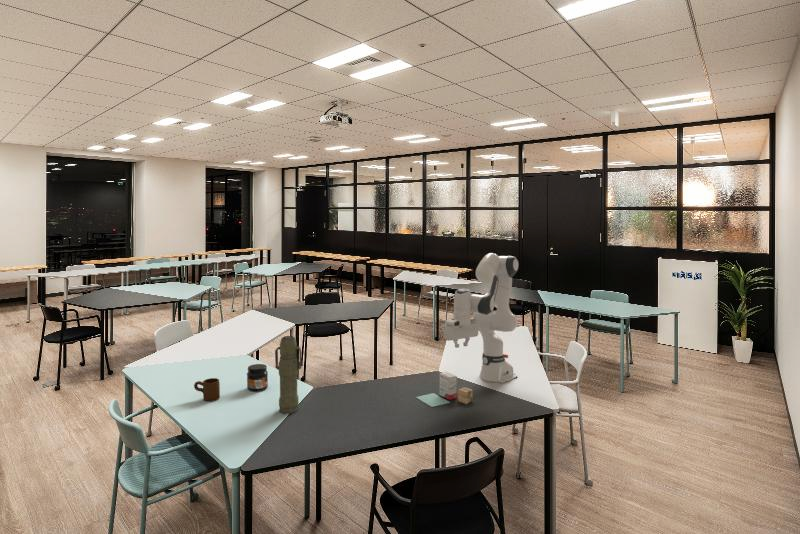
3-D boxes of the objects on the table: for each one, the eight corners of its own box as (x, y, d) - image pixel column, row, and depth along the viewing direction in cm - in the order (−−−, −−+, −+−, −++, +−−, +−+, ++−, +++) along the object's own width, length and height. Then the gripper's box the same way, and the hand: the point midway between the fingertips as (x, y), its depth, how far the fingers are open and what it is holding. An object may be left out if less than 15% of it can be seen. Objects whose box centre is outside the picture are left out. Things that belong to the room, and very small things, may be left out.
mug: (191, 402, 222) (191, 383, 221) (197, 396, 229) (196, 378, 228) (217, 401, 223) (216, 383, 222) (221, 395, 230) (221, 377, 230)
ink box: (457, 398, 231) (457, 375, 230) (449, 400, 229) (450, 377, 228) (446, 393, 239) (446, 371, 238) (438, 394, 236) (439, 372, 235)
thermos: (276, 407, 218) (275, 335, 214) (301, 405, 220) (301, 334, 216) (274, 414, 209) (273, 340, 205) (301, 413, 211) (300, 339, 208)
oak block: (463, 398, 232) (464, 387, 231) (472, 401, 228) (472, 389, 228) (458, 401, 228) (458, 389, 228) (466, 404, 225) (466, 392, 224)
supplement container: (259, 393, 234) (259, 370, 233) (242, 390, 238) (242, 368, 237) (271, 386, 244) (271, 364, 243) (255, 384, 248) (255, 362, 247)
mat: (433, 393, 238) (433, 393, 237) (450, 402, 226) (450, 402, 226) (415, 397, 232) (415, 397, 232) (431, 407, 220) (431, 406, 220)
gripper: (473, 317, 242) (472, 342, 244) (442, 321, 232) (441, 347, 233) (481, 319, 237) (480, 345, 238) (450, 323, 226) (449, 350, 228)
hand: (461, 346), depth 235 cm, fingers open, 4 cm apart
